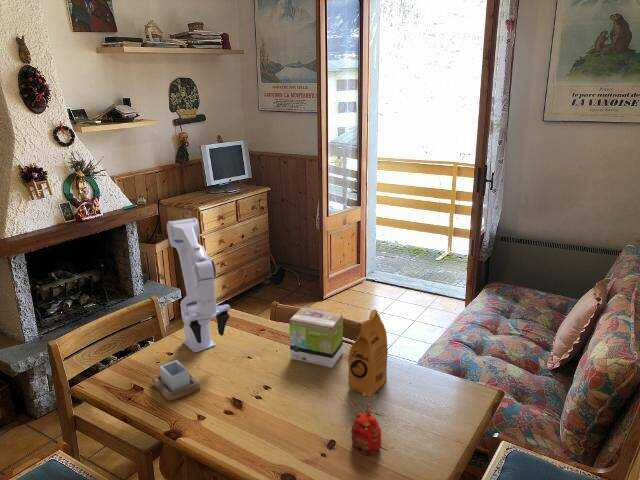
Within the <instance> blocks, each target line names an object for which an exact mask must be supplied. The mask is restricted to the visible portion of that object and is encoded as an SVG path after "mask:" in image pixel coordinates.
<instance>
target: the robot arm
mask: <svg viewBox="0 0 640 480" xmlns="http://www.w3.org/2000/svg"><path fill="white" fill-rule="evenodd" d="M199 224H200V223H199V220H198V219H197V218H196V217H191V218H186V219H180V220H168V221H167V223H166V230H167V231H166V232H167V235H168V236H167V237H168V241H169V244H170V247H172V248H175V249H176V251H177V253H178V258H179V262H180V267H181V272H182V277H183V283H184V287H185V291H186V295H185V297H184V298H183V299H181V301H180V314H181V319H182V321H183V324H184V325H183V327H184V335H185V336H184V337H185V340H184V341H182V342H183V344H184V345H185V346H187V347H188V348H189V349H190V350H191V351H192V352H193V353H198V352H200V351H203V350H207V349H209V348H212V347H215V346H216V345H217V344H216V343H215V342H214V341H213V340H212V338H211V329H210V322H211V319H214V318H216V323H217V332H218V335H220V336H224V334H225V329H226V324H227V323H228V320H229V318H230V313H231V306H230V305H229V304H227V303H225V304H221V305H217V297H216V286H215V285H216V282H215V278H217V268H216V264H215V262H214V259H213V258H211V257H209V256H208V254H207V251H206V249H205V247H204V246H203V245H202V244H199V243H200V242H199V241H198V240H199V235H200V231H201V230H200V225H199Z"/></svg>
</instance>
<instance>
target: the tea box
mask: <svg viewBox="0 0 640 480" xmlns="http://www.w3.org/2000/svg"><path fill="white" fill-rule="evenodd" d="M343 321H344V314H342V313H336V312H331V311H324V310H319V309H312V308H307V307H300V308H299V309H298V310H297V311H296V313H295V314H293V316H292V317H291V318H290V319H288V322H289V325H288V326H289V352H290V353H289V354H290V360H295V361H299V362H300V361H301V362H303V363H309V364H310V363H311V364H314V365H318V366H323V367H326V368H331V369H332V368H333V367H334V366H335V365H336V363H337V362H338V360H340V358H341V356H342V354H343V352H344V351H343V350H344V349H343V347H344V344H343V343H344V341H343V340H344V339H343V338H344V335H343V334H344V332H343V331H344V322H343Z"/></svg>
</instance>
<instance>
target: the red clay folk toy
mask: <svg viewBox="0 0 640 480" xmlns="http://www.w3.org/2000/svg"><path fill="white" fill-rule="evenodd" d="M361 394H362V397H367V398H368V403H367V406H368V407H367V410H366V413H361V412H359V413H358V414H356V418H355V420H354V422H353V424H352V426H351V427H352V428H351V430H350V433H351V441H352V443H351V444H352V447H353V448H354V451H355V452H358V453H359V452H360V453H361V454H362V455H366V456H375V455H376V453H377V452H378V451H379V450H380V448H381V446H382V429H381V427H380V424H379V421H378V420H377V419H376V418H375V416H373V415H372V413H371V409H370V408H371V406H372V405H371V398H372V396H371V389H370V393H368V395H366V394H365V392H363V393H361Z"/></svg>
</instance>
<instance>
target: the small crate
mask: <svg viewBox="0 0 640 480" xmlns="http://www.w3.org/2000/svg"><path fill="white" fill-rule="evenodd" d="M159 372H160V374H161V382H162V384H163V385H164V386H165V387H166V388H167V389H168V391H169V392H173V391H175V390H178V389H180V388H183V387H185V386H188V385H190V377H189V374H190V370H189V369H188V368H187V367H185V366H184V365H183V363H181V362H180V361H179V360H178V359H176V360H173V361H171V362H168V363H165V364H162V365H159ZM160 374H159V375H160Z"/></svg>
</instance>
